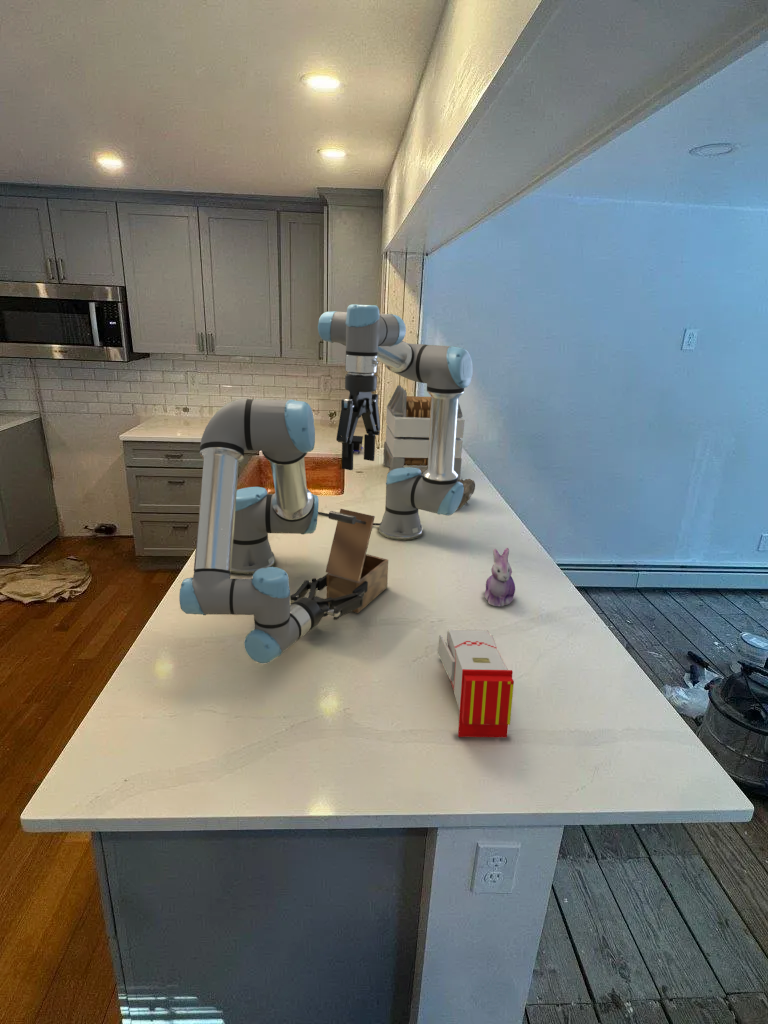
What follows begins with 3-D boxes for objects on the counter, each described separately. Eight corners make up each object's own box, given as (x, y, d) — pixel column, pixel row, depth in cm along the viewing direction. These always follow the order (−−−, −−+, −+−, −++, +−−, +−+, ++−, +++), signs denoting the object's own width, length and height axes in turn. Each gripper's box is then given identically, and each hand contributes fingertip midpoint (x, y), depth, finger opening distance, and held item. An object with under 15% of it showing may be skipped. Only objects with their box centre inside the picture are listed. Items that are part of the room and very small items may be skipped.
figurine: (497, 611, 151) (503, 559, 146) (474, 594, 159) (479, 545, 154) (524, 604, 155) (532, 554, 150) (501, 588, 163) (507, 540, 158)
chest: (357, 579, 165) (357, 551, 162) (387, 587, 161) (388, 559, 157) (326, 603, 151) (326, 574, 148) (358, 613, 147) (358, 583, 144)
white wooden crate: (382, 463, 289) (386, 382, 275) (445, 464, 293) (451, 384, 279) (390, 482, 257) (394, 392, 243) (460, 483, 261) (468, 394, 247)
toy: (488, 613, 130) (523, 677, 101) (484, 667, 133) (517, 744, 104) (435, 612, 130) (455, 676, 101) (432, 666, 133) (451, 743, 103)
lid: (342, 509, 149) (325, 504, 141) (374, 516, 145) (359, 512, 137) (327, 572, 148) (309, 571, 140) (359, 581, 144) (343, 581, 136)
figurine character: (362, 457, 305) (363, 447, 318) (362, 443, 301) (363, 434, 315) (350, 456, 304) (351, 447, 318) (350, 443, 301) (351, 434, 314)
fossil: (439, 484, 243) (468, 465, 238) (451, 501, 246) (481, 483, 241) (438, 506, 224) (470, 486, 219) (452, 524, 226) (484, 505, 221)
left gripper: (261, 619, 137) (313, 583, 156) (340, 646, 127) (386, 604, 146) (260, 591, 134) (313, 558, 153) (340, 617, 125) (387, 578, 144)
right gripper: (350, 379, 123) (348, 477, 131) (396, 371, 142) (392, 457, 150) (321, 376, 126) (320, 472, 134) (370, 368, 145) (367, 453, 153)
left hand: (348, 581), depth 150 cm, fingers closed on chest, 10 cm apart
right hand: (358, 464), depth 142 cm, fingers open, 10 cm apart
